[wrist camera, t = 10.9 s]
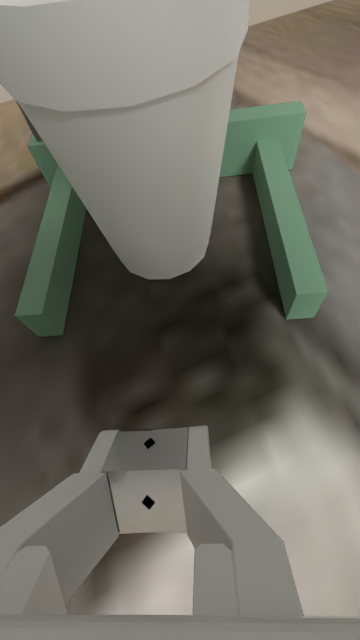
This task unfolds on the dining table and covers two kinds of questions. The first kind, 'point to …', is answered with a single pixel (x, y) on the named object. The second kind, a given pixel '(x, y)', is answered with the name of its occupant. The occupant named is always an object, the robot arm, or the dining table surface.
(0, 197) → the dining table surface
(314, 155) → the dining table surface
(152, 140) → the foam cup
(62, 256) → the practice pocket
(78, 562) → the robot arm
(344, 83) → the dining table surface
